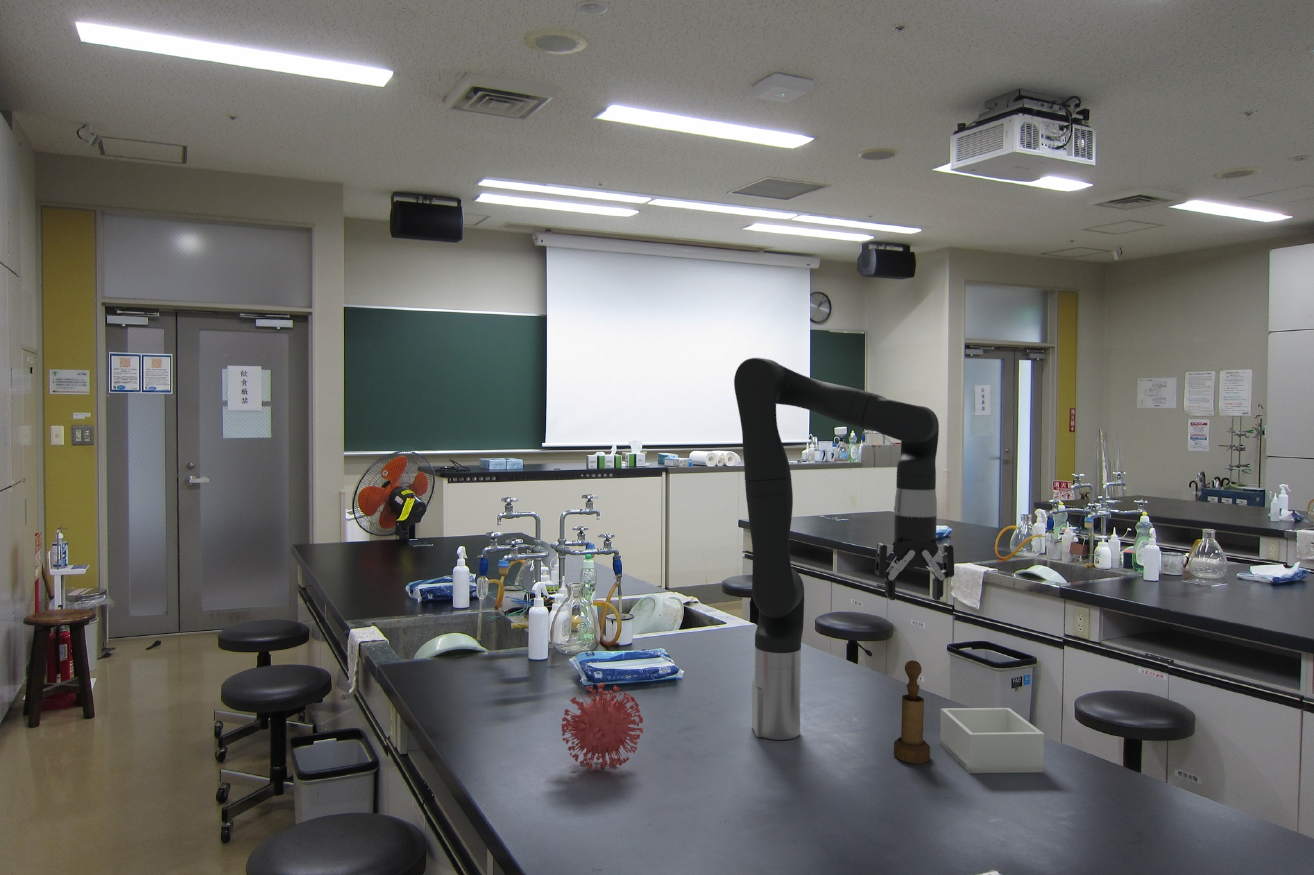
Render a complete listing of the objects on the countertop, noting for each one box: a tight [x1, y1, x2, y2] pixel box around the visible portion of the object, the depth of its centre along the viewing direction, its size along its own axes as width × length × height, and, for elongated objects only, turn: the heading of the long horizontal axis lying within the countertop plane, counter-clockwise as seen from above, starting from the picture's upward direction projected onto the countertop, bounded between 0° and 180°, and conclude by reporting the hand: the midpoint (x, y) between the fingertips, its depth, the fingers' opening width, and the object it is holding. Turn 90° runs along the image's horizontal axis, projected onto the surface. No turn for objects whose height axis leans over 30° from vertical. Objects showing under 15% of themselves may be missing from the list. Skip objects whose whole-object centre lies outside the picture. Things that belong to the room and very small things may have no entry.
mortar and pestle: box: [893, 660, 931, 764], centre depth 159 cm, size 7×6×18 cm
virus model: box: [560, 682, 644, 771], centre depth 153 cm, size 15×15×15 cm
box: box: [939, 707, 1045, 774], centre depth 159 cm, size 14×14×7 cm
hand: (914, 599), depth 159 cm, fingers open, 8 cm apart
